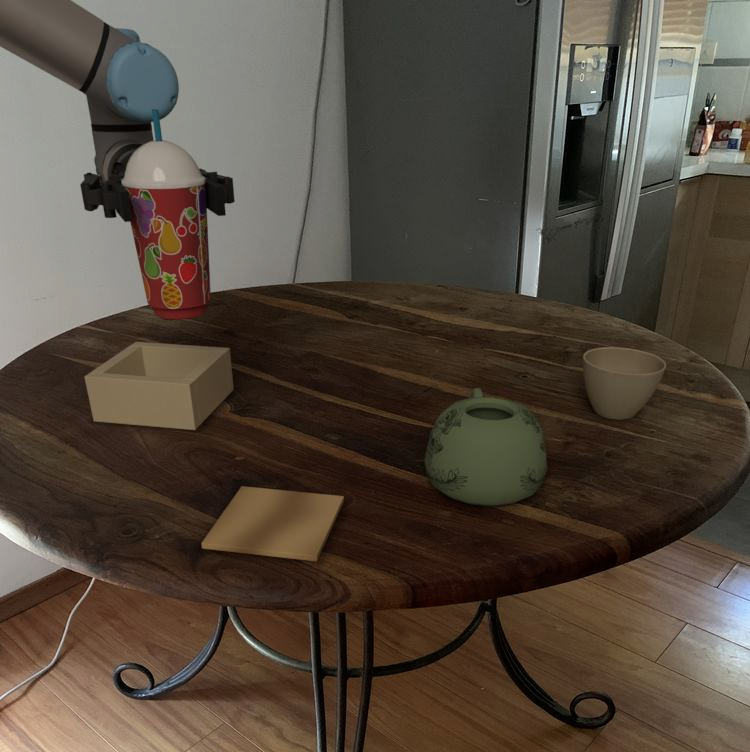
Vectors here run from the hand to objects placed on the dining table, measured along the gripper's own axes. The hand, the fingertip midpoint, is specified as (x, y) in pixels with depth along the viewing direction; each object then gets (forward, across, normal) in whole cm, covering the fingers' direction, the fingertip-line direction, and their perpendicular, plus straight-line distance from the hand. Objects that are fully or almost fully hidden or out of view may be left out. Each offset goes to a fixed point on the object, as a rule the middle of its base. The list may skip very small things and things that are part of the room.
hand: (174, 204), depth 72 cm
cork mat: (+19, -3, -27) cm, 33 cm away
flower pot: (+10, -51, -27) cm, 59 cm away
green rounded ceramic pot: (+18, -26, -27) cm, 42 cm away
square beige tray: (-15, +2, -27) cm, 31 cm away
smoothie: (-5, 0, -12) cm, 13 cm away
